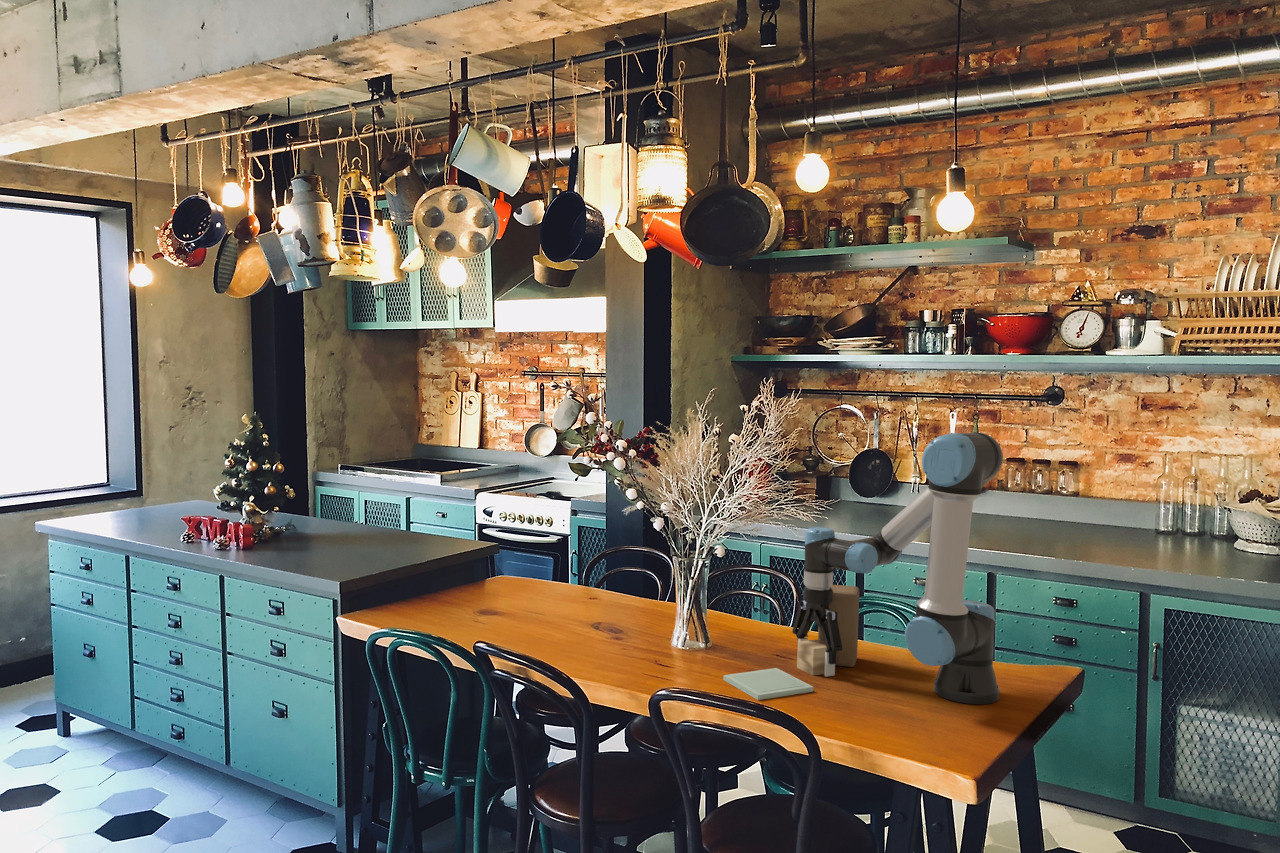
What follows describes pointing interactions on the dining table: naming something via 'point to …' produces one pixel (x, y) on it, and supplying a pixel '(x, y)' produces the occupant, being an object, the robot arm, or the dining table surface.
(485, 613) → the dining table surface
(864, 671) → the dining table surface
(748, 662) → the dining table surface
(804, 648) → the oak cube
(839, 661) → the wooden block
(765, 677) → the plate
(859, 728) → the dining table surface
